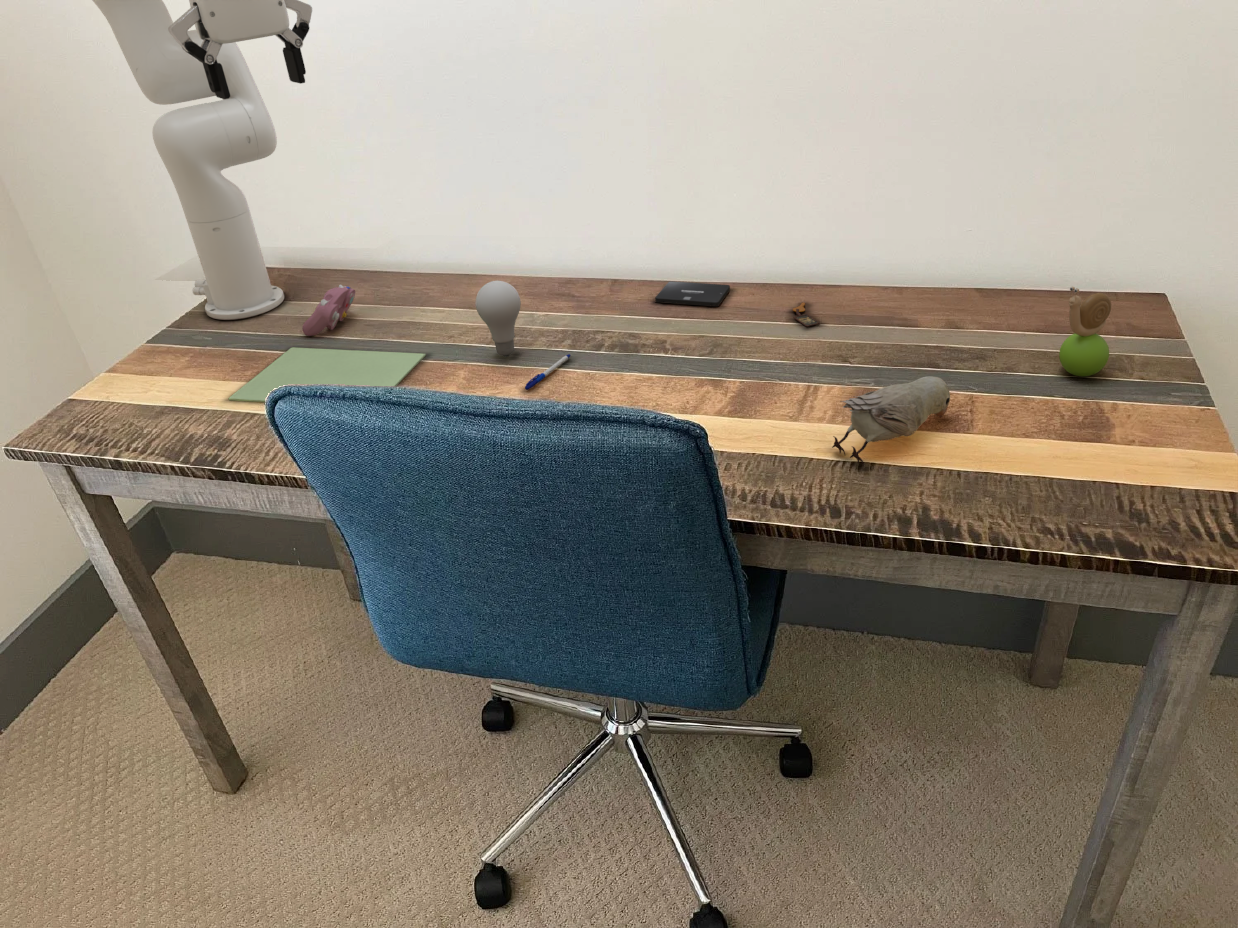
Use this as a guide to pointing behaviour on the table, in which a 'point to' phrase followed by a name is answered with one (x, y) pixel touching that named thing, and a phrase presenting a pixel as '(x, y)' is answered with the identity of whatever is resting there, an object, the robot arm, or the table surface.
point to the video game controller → (329, 310)
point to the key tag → (804, 316)
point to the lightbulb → (499, 313)
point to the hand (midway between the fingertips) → (261, 90)
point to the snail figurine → (1086, 335)
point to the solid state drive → (692, 293)
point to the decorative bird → (895, 410)
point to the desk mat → (329, 370)
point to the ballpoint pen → (545, 373)
